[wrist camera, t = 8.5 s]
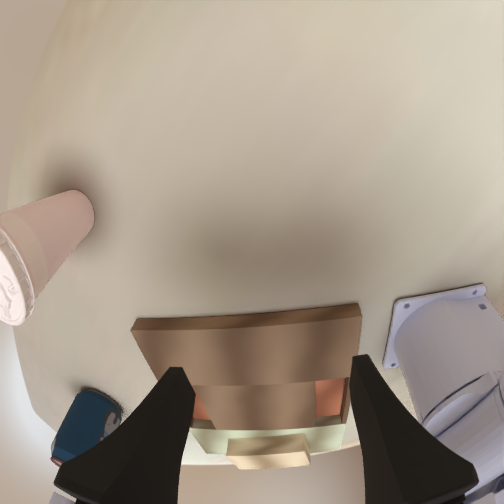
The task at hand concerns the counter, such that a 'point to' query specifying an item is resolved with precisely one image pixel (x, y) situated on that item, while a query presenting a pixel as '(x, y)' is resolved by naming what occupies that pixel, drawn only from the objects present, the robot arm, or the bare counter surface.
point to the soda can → (85, 425)
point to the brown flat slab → (261, 372)
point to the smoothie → (38, 248)
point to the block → (269, 451)
